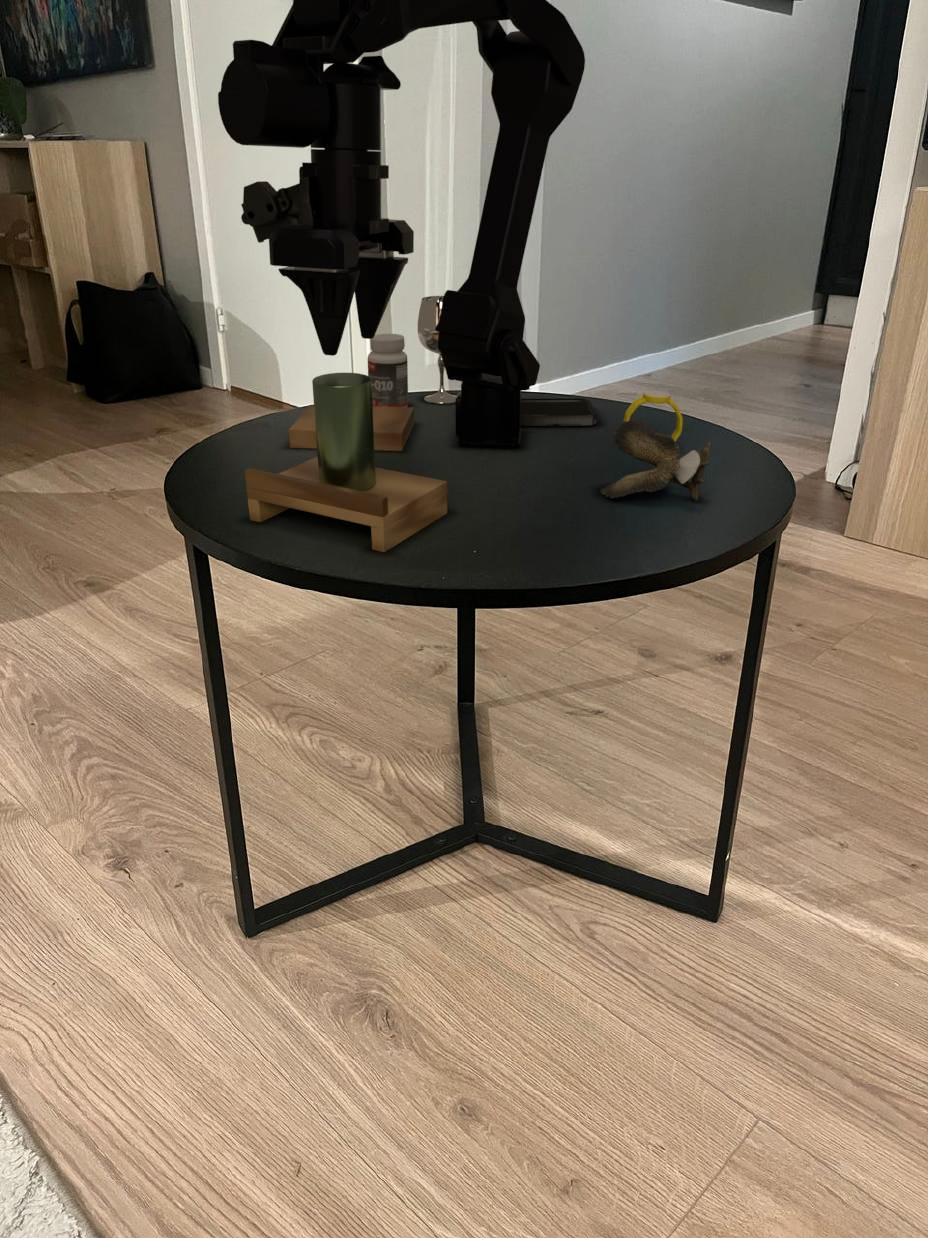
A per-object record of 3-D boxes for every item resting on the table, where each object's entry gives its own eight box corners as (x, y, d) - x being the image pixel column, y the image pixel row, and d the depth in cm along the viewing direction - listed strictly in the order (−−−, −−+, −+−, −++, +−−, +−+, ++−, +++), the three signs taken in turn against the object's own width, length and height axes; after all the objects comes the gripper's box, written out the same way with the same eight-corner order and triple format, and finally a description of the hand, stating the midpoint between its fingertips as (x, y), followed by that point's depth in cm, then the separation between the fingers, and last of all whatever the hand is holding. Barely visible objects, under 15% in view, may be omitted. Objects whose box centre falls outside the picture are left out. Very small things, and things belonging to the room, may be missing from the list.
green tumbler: (379, 475, 84) (375, 372, 80) (370, 494, 79) (365, 386, 75) (326, 474, 84) (319, 371, 80) (314, 492, 80) (306, 385, 76)
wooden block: (414, 424, 109) (414, 407, 108) (402, 451, 100) (401, 432, 99) (310, 421, 109) (309, 404, 109) (289, 447, 101) (288, 429, 100)
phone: (464, 398, 114) (588, 397, 114) (464, 408, 115) (588, 407, 115) (465, 416, 107) (598, 415, 107) (465, 426, 108) (598, 425, 108)
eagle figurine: (700, 469, 91) (609, 446, 92) (721, 420, 85) (623, 396, 86) (687, 532, 88) (592, 508, 89) (708, 487, 81) (605, 461, 82)
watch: (623, 453, 99) (628, 396, 97) (619, 445, 102) (624, 389, 99) (680, 453, 99) (687, 396, 97) (675, 445, 102) (682, 390, 99)
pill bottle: (361, 409, 114) (358, 337, 110) (383, 400, 118) (381, 331, 114) (394, 414, 112) (392, 342, 108) (415, 405, 116) (414, 335, 112)
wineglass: (459, 406, 116) (459, 303, 110) (413, 403, 117) (411, 301, 111) (469, 394, 121) (469, 295, 115) (425, 392, 122) (423, 294, 116)
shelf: (320, 486, 90) (317, 440, 88) (447, 513, 84) (447, 464, 82) (249, 520, 82) (244, 470, 80) (384, 552, 76) (382, 499, 74)
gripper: (300, 149, 88) (307, 324, 94) (199, 144, 71) (216, 356, 78) (416, 153, 85) (414, 333, 92) (338, 148, 69) (343, 368, 76)
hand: (349, 346), depth 84 cm, fingers open, 9 cm apart
